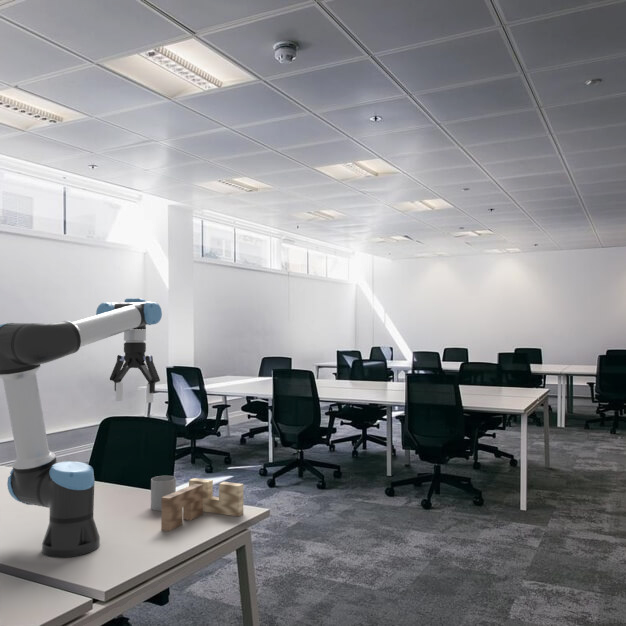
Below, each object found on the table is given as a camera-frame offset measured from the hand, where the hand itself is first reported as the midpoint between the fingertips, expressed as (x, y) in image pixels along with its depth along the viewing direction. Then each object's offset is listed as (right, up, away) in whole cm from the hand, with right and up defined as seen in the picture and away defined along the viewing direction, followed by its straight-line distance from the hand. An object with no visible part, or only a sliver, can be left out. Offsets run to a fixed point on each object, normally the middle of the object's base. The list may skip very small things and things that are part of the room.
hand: (134, 401), depth 209 cm
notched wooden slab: (+30, -36, -8) cm, 48 cm away
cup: (+11, -37, -3) cm, 39 cm away
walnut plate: (+21, -36, -19) cm, 46 cm away
